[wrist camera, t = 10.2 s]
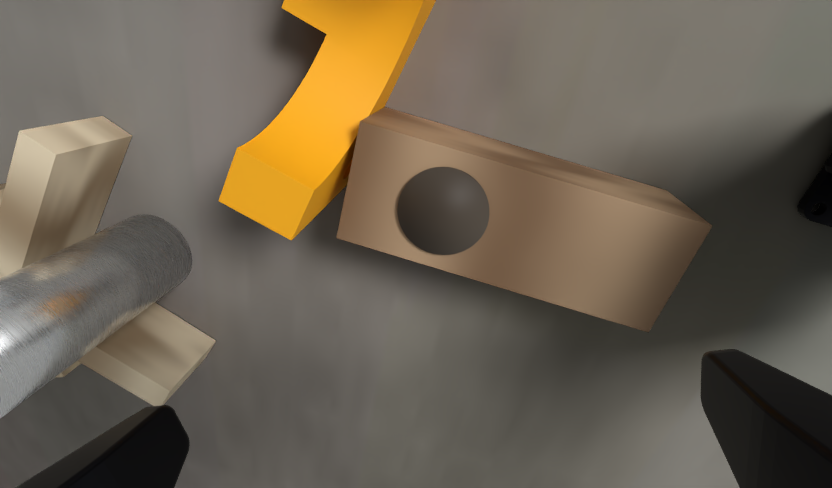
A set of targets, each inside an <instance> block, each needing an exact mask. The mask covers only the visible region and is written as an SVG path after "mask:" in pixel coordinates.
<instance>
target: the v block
mask: <svg viewBox="0 0 832 488" xmlns="http://www.w3.org/2000/svg"><path fill="white" fill-rule="evenodd" d="M131 137H132V135H130V134H129V133H127V132H126V131H124V130H123V129H121V128H120V127H118V126H117V125H115V124H114V123H112V122H111V121H109V120H108V119H106V118H105V117H103V116H100V117H94V118H89V119H83V120H77V121H72V122H66V123H60V124H55V125H49V126H43V127H37V128H32V129H26V130H20V131H19V134H18V138H17V142H16V146H15V150H14V154H13V158H12V162H11V166H10V169H9V173H8V177H7V181H6V183H5V184H0V278H2V277H4V276H7V275H9V274H11V273H13V272H15V271H17V270H19V269H22V268H24V267H26V266H28V265H30V264H32V263H34V262H37V261H39V260H41V259H43V258H45V257H47V256H49V255H52V254H54V253H56V252H58V251H60V250H62V249H64V248H67V247H69V246H71V245H73V244H75V243H77V242H79V241H82V240H84V239H86V238H88V237H90V236H92V235H94V234H95V232H96V230H97V227H98V224H99V222H100V219H101V216H102V214H103V211H104V209H105V206H106V203H107V201H108V198H109V195H110V193H111V190H112V187H113V185H114V182H115V180H116V177H117V174H118V172H119V169H120V166H121V164H122V161H123V159H124V156H125V153H126V151H127V148H128V145H129V143H130V140H131ZM215 342H216V340H214V339H213V338H211V337H209V336H208V335H206V334H205V333H203V332H201V331H200V330H198V329H197V328H195V327H193V326H192V325H190V324H189V323H187V322H185V321H184V320H182V319H181V318H179V317H177V316H176V315H174V314H173V313H171V312H169V311H168V310H166V309H165V308H163V307H161V306H160V305H158V304H157V303H155V302H154V303H153V304H152V305H150V306H149V307H148V308H146V309H145V310H144V311H142V312H141V313H140V314H138V315H137V316H136V317H134V318H133V319H132V320H130V321H129V322H128V323H126V324H125V325H124V326H122V327H121V328H120V329H118V330H117V331H116V332H114V333H113V334H112V335H110V336H109V337H108V338H106V339H105V340H104V341H103V342H101V343H100V344H99V345H97V346H96V347H95V348H93V349H92V350H91V351H89V352H88V353H87V354H85V355H84V356H83V357H81V358H80V359H79V360H77V361H76V362H75V363H73V364H72V365H71V366H69V367H68V368H67V369H65V370H64V371H63V372H61V373H60V374H59V375H57V376H56V377H55V378H57V377H64V376H66V375H67V374H68V373H69V372H71V371H72V370H73V369H75V368H76V367H77V366H78V365H80V364H81V363H82V364H84V365H85V366H87V367H89V368H90V369H92V370H94V371H95V372H97V373H99V374H100V375H102V376H104V377H106V378H107V379H109V380H111V381H112V382H114V383H116V384H117V385H119V386H121V387H122V388H124V389H126V390H128V391H129V392H131V393H133V394H134V395H136V396H138V397H139V398H141V399H143V400H144V401H146V402H148V403H150V404H151V405H153V406H160V405H164V404H165V403H166V401H167V400H168V399H169V398H170V397H171V396H172V395H173V394H174V393H175V391H176V390H177V389H178V388H179V387H180V386H181V385H182V384H183V383H184V381H185V380H186V379H187V378H188V377H189V376H190V375H191V374H192V373H193V371H194V370H195V369H196V368H197V367H198V366H199V365H200V364H201V363H202V361H203V360H204V359H205V358H206V357H207V355H208V353H209V352H210V350H211V349H212V347H213V345H214V344H215Z"/></svg>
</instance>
